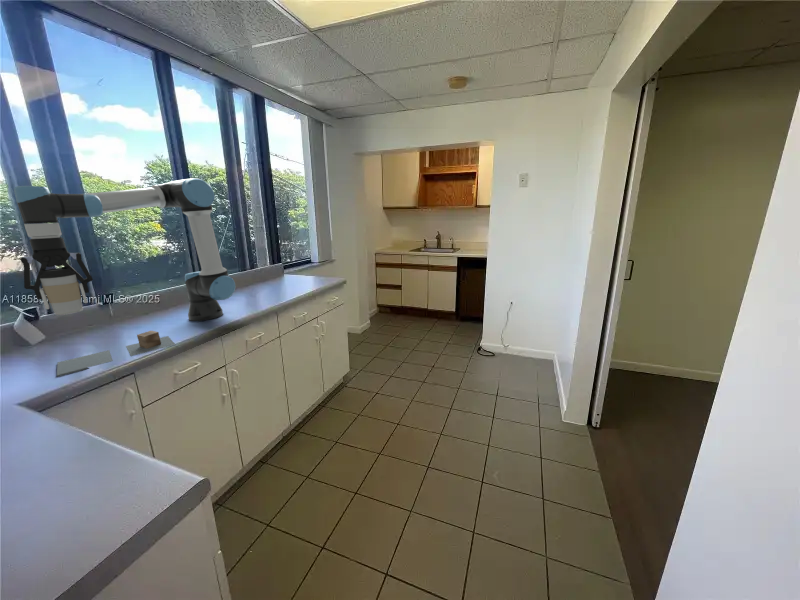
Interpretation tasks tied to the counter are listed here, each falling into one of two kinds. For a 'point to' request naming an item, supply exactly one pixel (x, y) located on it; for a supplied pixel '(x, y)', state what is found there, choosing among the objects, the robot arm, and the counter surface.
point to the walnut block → (149, 339)
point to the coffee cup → (62, 290)
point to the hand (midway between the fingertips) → (67, 305)
